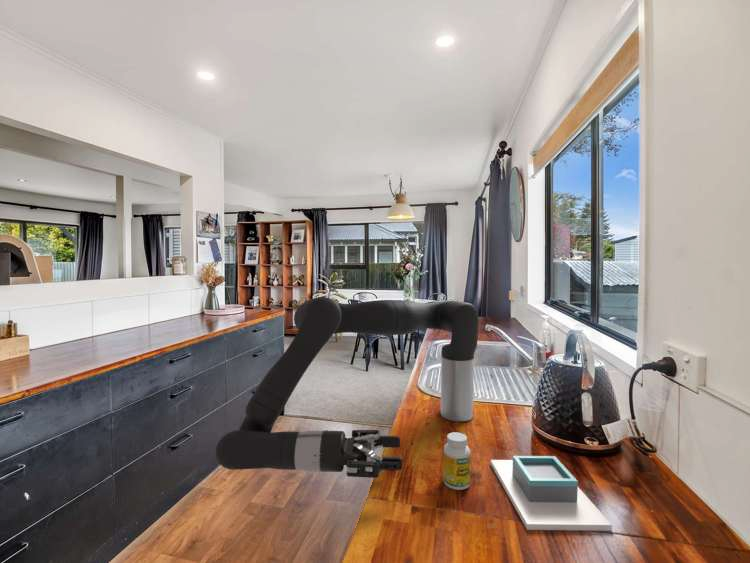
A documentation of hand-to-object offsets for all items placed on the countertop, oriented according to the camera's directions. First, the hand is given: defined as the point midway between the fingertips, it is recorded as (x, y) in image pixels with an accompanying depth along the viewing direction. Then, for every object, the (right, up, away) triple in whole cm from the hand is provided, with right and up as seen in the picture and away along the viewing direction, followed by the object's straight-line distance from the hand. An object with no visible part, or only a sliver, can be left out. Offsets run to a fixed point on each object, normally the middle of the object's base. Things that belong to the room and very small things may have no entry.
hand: (401, 451), depth 74 cm
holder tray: (+27, -7, -3) cm, 28 cm away
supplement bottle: (+11, -7, 0) cm, 13 cm away
